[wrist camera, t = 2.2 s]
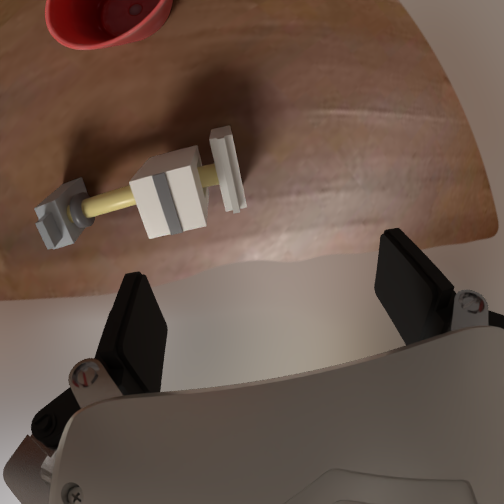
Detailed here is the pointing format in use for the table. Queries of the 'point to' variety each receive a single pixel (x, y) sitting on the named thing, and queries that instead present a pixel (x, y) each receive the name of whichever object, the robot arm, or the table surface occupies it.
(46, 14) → the flower pot
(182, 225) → the grooved sliding block
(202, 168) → the rail
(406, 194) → the table surface
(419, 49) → the table surface
